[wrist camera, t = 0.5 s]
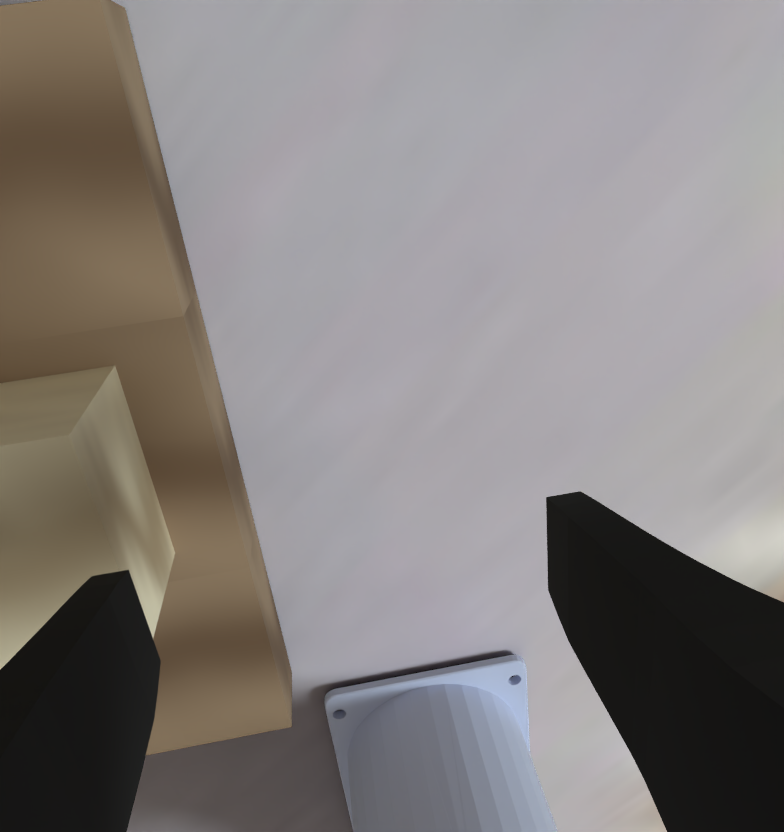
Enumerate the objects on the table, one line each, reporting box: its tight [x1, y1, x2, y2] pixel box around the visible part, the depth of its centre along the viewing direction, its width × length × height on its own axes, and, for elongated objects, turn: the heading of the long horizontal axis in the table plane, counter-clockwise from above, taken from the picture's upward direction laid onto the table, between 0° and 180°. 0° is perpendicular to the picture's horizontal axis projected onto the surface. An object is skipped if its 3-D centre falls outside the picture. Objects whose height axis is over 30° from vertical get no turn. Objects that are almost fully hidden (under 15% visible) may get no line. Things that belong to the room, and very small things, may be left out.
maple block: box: [0, 365, 175, 669], centre depth 17 cm, size 6×6×4 cm
